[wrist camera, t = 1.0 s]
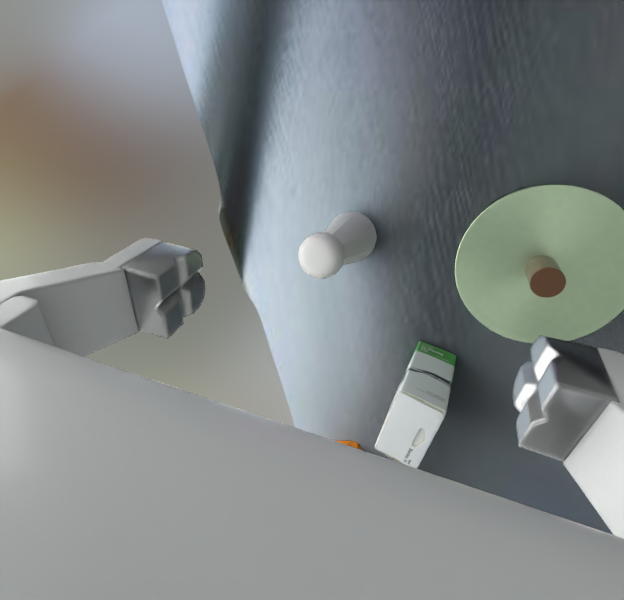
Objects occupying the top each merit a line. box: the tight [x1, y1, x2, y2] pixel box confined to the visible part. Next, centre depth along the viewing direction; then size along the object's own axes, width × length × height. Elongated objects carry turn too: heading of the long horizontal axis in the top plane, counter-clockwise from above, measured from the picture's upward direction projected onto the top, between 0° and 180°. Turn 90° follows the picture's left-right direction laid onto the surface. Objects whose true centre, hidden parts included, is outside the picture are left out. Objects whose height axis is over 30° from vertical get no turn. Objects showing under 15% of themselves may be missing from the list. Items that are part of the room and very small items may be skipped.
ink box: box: [375, 341, 456, 468], centre depth 44 cm, size 9×5×12 cm, turn 165°
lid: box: [455, 184, 624, 343], centre depth 32 cm, size 14×14×5 cm
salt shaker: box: [298, 212, 377, 279], centre depth 41 cm, size 6×6×13 cm
